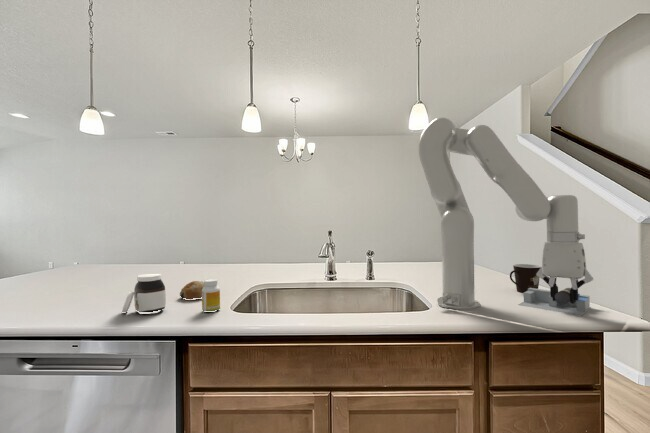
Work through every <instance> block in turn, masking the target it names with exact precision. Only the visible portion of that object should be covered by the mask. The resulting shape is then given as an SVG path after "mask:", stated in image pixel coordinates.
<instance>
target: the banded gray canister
mask: <svg viewBox="0 0 650 433" xmlns="http://www.w3.org/2000/svg"><path fill="white" fill-rule="evenodd" d="M570 289H571V287H566V288H564V289H562V290H560V291H559V290H558V292H557V293H556V294H555V300H556V301H557V302H558V303H560V304H567V303H569V302H570Z"/></svg>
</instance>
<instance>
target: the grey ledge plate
mask: <svg viewBox="0 0 650 433" xmlns="http://www.w3.org/2000/svg"><path fill="white" fill-rule="evenodd" d="M590 300H591V299H590V295H587V294H580V293H578V301H576V302H575V303H574V304H572V303H570V302H569V303H567V304H560V303H558V302H557V301H553V297H551V295H550V290H548V289H541V288H538V289H535V288H528V291H526V292H524V293H523V301H522V302H520V303H519V304H517V305H518V306H522V307H527V308H528V307H529V308H534V309H538V310H539V309H540V310H545V311H552V312H558V313H563V314H569V315H576V316H580V317H583V316H584V315H585V313H587V312H588V311H589V310H590V309H591V308H592V307H591V306H590V305H591V304H590V303H591V302H590Z"/></svg>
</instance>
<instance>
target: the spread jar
mask: <svg viewBox="0 0 650 433" xmlns="http://www.w3.org/2000/svg"><path fill="white" fill-rule="evenodd" d="M162 276H163V275H162V273H145V274H139V275H137V279H136V280H137V282H136V284H135V286H134V289H133V290H134V291H129V292H128V294H127V296H126V298H125V301H124V305H123V307H122V310H121V313H122V312H127V311H129V310H128V309H130V307H131V304H132V302H133V300H134V309H135V311H136V310H137V311H139V312H153V311H158V310H162V309H164V310H165V308H166V304H167V303H166V302H167V300H166V299H167V298H166V296H167V294H166V286H165V283H164V282H163V280H162V278H163V277H162ZM133 298H134V299H133ZM127 313H128V312H127Z"/></svg>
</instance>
